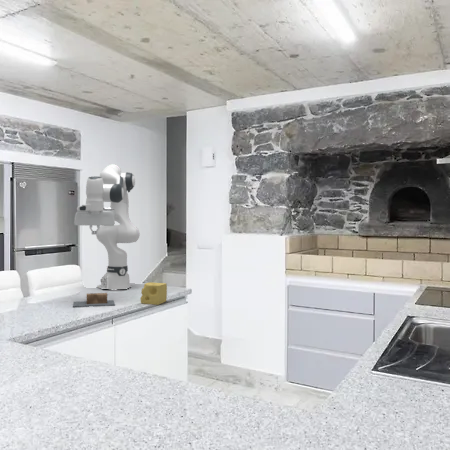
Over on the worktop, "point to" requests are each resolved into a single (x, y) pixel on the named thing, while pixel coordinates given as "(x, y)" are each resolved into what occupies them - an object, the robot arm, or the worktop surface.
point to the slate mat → (84, 304)
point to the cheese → (154, 293)
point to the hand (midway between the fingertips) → (94, 234)
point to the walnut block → (96, 298)
